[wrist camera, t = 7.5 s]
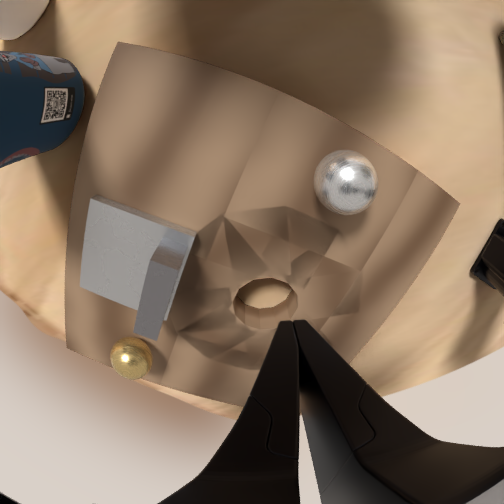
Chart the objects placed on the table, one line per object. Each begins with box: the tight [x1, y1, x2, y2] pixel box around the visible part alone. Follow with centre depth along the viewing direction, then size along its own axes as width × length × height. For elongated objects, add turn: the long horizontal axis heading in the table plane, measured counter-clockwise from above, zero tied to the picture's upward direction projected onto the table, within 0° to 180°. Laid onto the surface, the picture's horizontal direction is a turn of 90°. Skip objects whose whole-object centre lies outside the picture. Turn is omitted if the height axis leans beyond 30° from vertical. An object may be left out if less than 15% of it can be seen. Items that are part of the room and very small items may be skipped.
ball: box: [314, 150, 378, 215], centre depth 14 cm, size 4×4×4 cm
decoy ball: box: [110, 337, 153, 380], centre depth 20 cm, size 4×4×4 cm
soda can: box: [0, 51, 85, 168], centre depth 10 cm, size 7×7×12 cm
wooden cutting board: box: [65, 42, 460, 413], centre depth 21 cm, size 25×26×2 cm
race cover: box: [80, 195, 197, 341], centre depth 16 cm, size 7×7×4 cm
